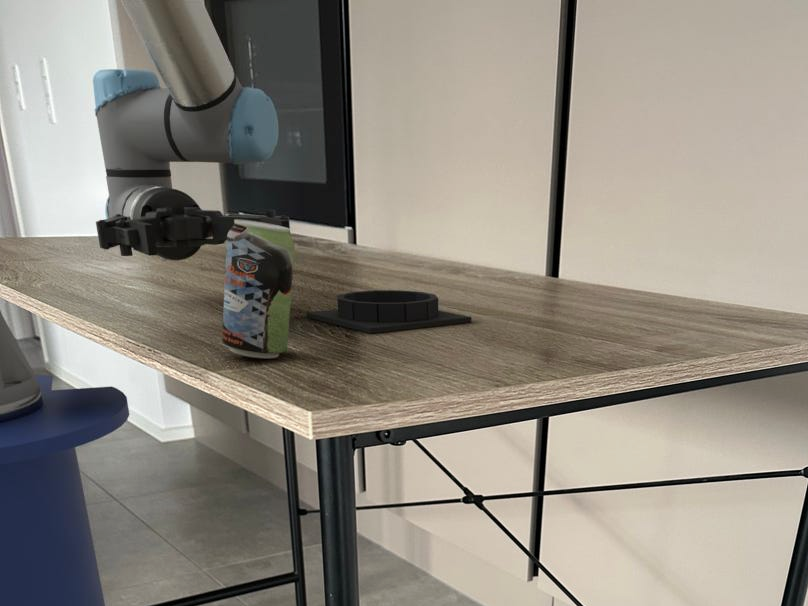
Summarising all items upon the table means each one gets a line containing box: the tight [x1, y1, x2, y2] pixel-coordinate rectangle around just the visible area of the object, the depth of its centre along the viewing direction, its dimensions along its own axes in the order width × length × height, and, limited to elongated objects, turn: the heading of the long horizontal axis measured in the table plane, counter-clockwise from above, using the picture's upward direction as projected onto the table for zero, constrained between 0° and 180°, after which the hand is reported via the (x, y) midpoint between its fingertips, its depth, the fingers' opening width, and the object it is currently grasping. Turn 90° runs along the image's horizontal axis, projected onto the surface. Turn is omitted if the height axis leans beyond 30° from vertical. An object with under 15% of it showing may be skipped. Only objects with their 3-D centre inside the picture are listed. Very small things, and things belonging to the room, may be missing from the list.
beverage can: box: [221, 219, 296, 359], centre depth 87 cm, size 6×7×12 cm
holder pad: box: [306, 289, 472, 334], centre depth 110 cm, size 14×14×3 cm
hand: (221, 237), depth 93 cm, fingers open, 13 cm apart
